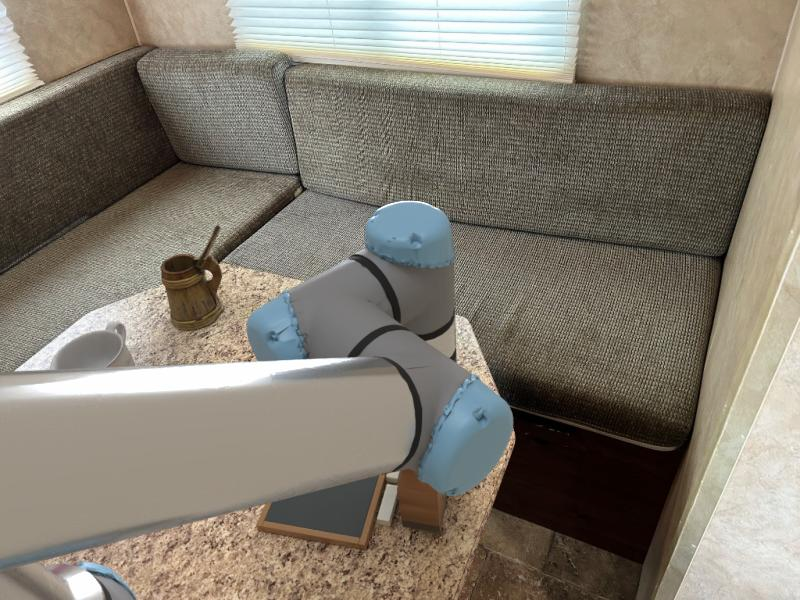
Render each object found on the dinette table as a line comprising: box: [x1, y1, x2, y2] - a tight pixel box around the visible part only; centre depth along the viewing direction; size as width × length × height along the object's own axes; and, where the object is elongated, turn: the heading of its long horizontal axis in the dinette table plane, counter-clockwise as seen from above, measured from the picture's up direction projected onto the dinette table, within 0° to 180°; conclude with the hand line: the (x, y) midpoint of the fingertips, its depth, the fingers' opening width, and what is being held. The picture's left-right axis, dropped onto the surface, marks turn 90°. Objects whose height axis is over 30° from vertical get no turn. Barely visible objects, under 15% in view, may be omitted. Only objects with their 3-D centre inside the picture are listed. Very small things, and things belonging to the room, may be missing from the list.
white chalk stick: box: [386, 470, 402, 485], centre depth 80 cm, size 5×1×2 cm
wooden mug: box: [160, 224, 224, 331], centre depth 103 cm, size 9×14×18 cm, turn 90°
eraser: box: [396, 469, 448, 534], centre depth 74 cm, size 12×5×8 cm, turn 167°
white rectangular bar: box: [376, 483, 399, 527], centre depth 76 cm, size 5×1×2 cm
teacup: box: [49, 320, 136, 370], centre depth 95 cm, size 14×11×8 cm
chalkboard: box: [255, 474, 387, 551], centre depth 80 cm, size 18×14×1 cm
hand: (430, 482), depth 76 cm, fingers closed on eraser, 5 cm apart
